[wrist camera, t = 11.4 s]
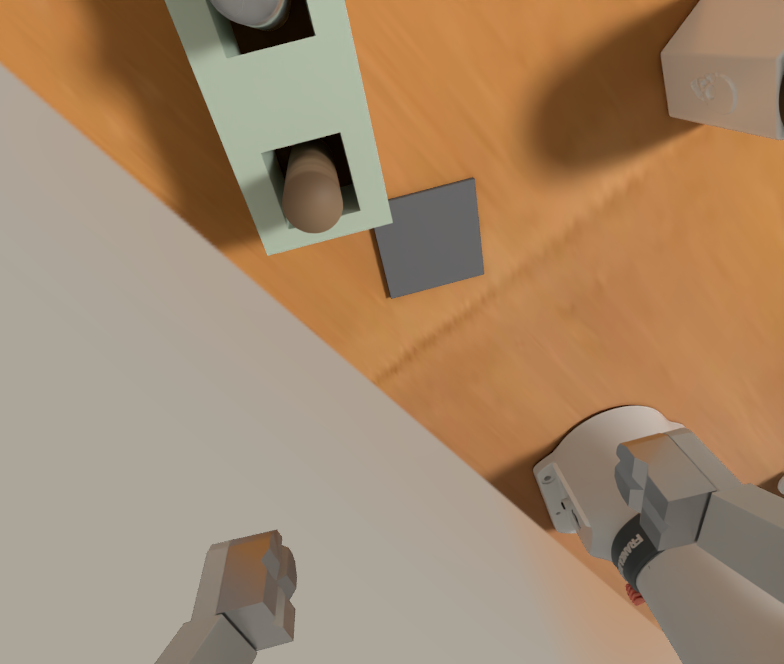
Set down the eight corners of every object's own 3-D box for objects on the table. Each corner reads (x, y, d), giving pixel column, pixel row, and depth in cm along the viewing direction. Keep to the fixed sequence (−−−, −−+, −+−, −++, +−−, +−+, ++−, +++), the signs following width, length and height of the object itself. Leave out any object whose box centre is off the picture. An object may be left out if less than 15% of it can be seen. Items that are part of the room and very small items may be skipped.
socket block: (379, 194, 33) (392, 222, 28) (273, 222, 33) (267, 255, 28) (313, -101, 24) (314, -137, 19) (165, -63, 23) (128, -90, 19)
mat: (482, 272, 38) (484, 274, 37) (390, 296, 37) (391, 298, 37) (473, 177, 33) (474, 178, 33) (368, 204, 33) (368, 206, 33)
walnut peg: (338, 176, 31) (349, 225, 23) (297, 187, 31) (293, 239, 23) (326, 131, 30) (333, 166, 22) (282, 143, 30) (273, 182, 22)
